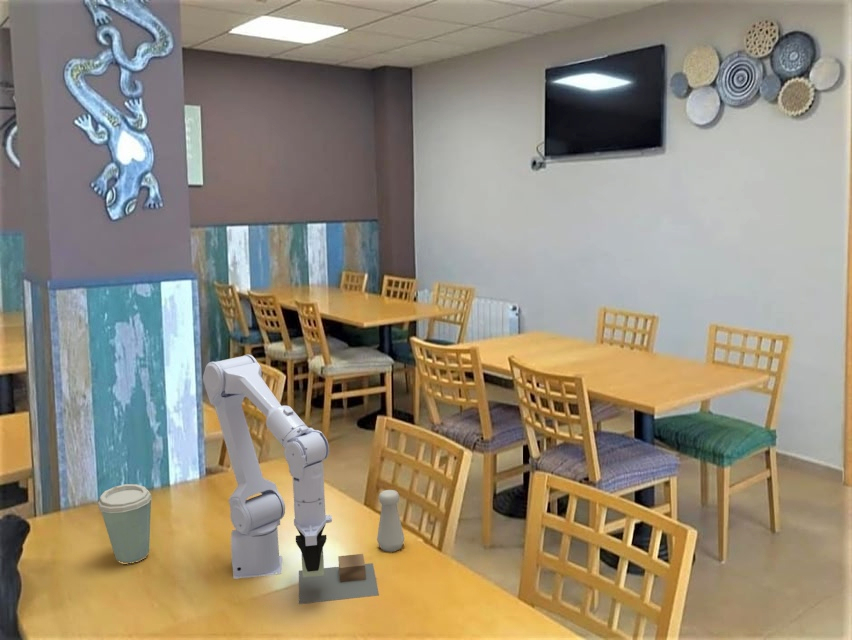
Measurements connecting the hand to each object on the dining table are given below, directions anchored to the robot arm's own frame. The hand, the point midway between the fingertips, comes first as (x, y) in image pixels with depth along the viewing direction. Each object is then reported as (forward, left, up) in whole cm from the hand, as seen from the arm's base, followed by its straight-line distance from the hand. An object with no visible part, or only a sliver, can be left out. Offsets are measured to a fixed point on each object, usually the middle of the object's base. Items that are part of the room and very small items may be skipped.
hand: (312, 564), depth 147 cm
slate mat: (+5, +3, -6) cm, 8 cm away
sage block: (0, 0, -1) cm, 1 cm away
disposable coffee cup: (-38, +24, -7) cm, 46 cm away
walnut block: (+8, +5, -6) cm, 11 cm away
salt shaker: (+17, +16, -7) cm, 24 cm away
